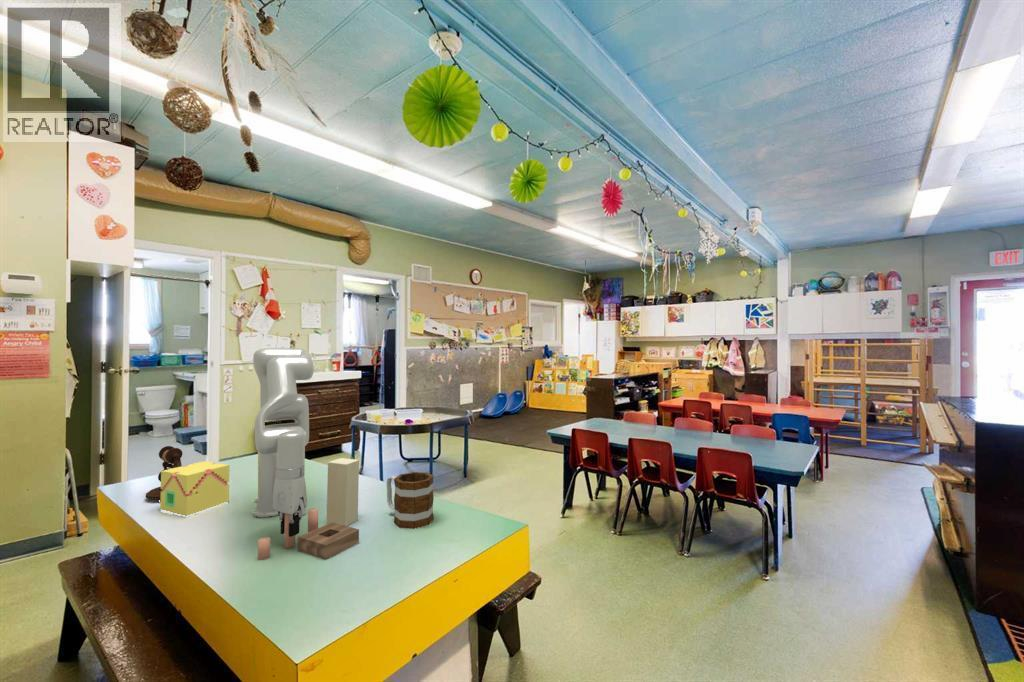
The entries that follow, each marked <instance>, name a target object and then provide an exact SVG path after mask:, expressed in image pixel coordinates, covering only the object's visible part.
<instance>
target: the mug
mask: <svg viewBox="0 0 1024 682" xmlns="http://www.w3.org/2000/svg"><path fill="white" fill-rule="evenodd" d="M434 477H435V476H434V475H433V474H431V473H429V472H423V471H422V472H421V471H420V472H419V471H412V472H407V473H402V474H401V473H400V474H399V475H397V476H396V475H391V476H388V477H387V481H386V501H387V505H388V508H390V510H394V518H393V524H394V525H395V526H397V527H398V528H399V529H413V530H416V529H418V527H419V528H423V527H427V526H430V524H431V523H432V522H433V521H434ZM392 481H393V482H394V495H393V488H392ZM393 498H394V499H393ZM431 521H432V522H431ZM430 522H431V523H430ZM426 525H427V526H426ZM422 526H423V527H422ZM415 528H416V529H415Z"/></svg>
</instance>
